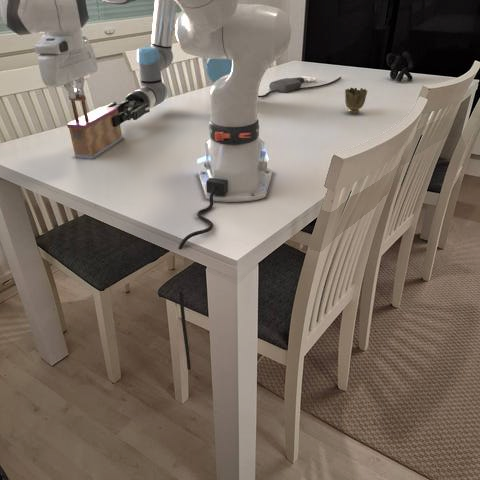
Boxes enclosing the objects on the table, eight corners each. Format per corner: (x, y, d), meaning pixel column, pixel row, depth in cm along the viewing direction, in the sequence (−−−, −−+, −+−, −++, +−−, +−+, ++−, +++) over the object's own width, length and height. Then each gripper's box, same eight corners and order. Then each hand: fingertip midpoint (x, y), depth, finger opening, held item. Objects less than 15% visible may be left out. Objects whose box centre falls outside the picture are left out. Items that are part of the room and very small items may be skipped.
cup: (340, 114, 157) (342, 91, 153) (346, 109, 163) (348, 86, 159) (361, 116, 154) (364, 93, 150) (366, 111, 160) (369, 88, 156)
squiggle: (400, 92, 202) (376, 71, 205) (417, 76, 202) (392, 56, 205) (405, 81, 191) (380, 59, 194) (423, 64, 191) (397, 42, 194)
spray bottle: (266, 89, 189) (298, 79, 205) (288, 93, 183) (318, 83, 199) (266, 82, 188) (298, 73, 204) (288, 85, 182) (319, 76, 198)
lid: (85, 129, 121) (78, 98, 116) (67, 127, 122) (60, 97, 118) (117, 111, 135) (113, 83, 131) (101, 109, 136) (96, 82, 132)
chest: (92, 158, 126) (86, 128, 121) (75, 157, 127) (68, 127, 123) (122, 138, 140) (118, 111, 135) (106, 137, 141) (101, 110, 136)
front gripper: (77, 35, 122) (87, 87, 129) (29, 47, 105) (43, 106, 112) (97, 35, 120) (106, 88, 128) (52, 47, 104) (65, 107, 111)
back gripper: (166, 114, 152) (134, 136, 133) (117, 110, 157) (80, 131, 138) (163, 91, 148) (130, 111, 129) (114, 88, 153) (74, 107, 134)
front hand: (77, 96), depth 120 cm, fingers closed on lid
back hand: (104, 121), depth 134 cm, fingers closed on chest, 6 cm apart
